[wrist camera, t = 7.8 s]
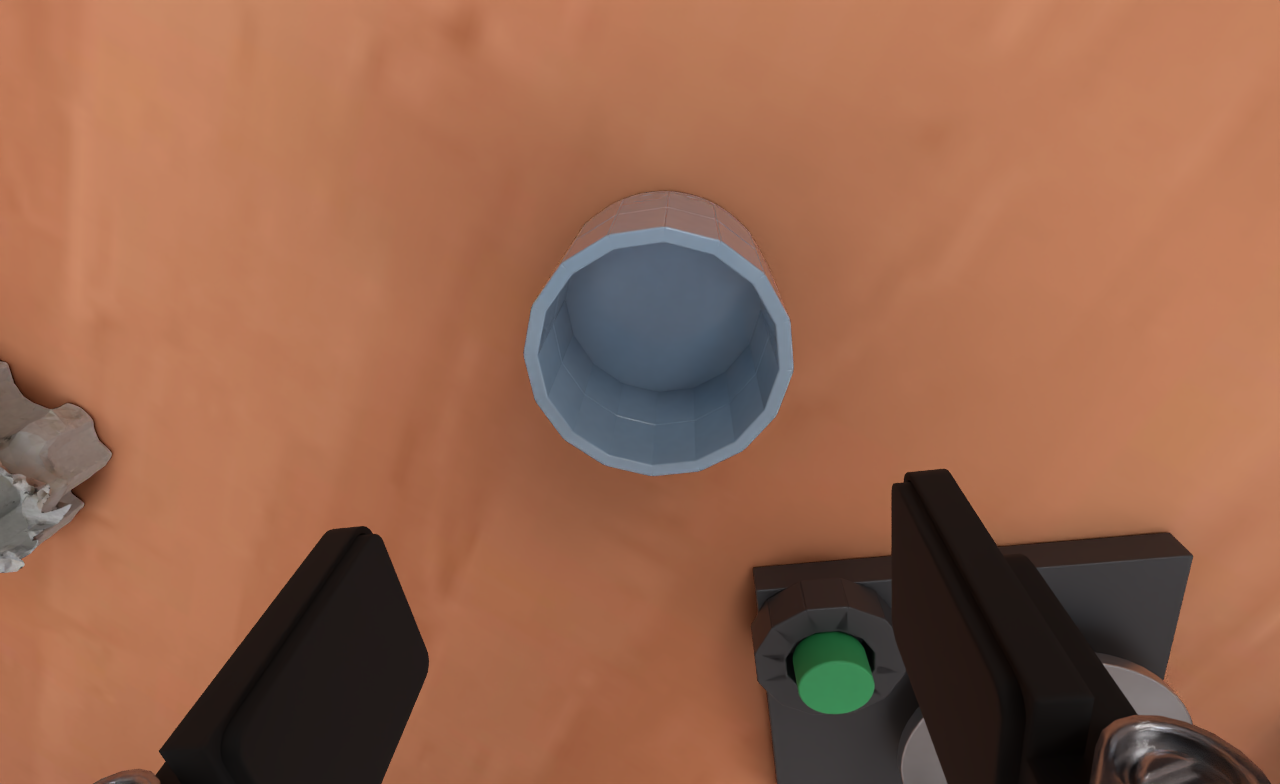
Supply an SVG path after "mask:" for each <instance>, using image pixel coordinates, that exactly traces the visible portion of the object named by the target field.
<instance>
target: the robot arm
mask: <svg viewBox="0 0 1280 784" xmlns="http://www.w3.org/2000/svg"><path fill="white" fill-rule="evenodd" d="M892 626H893V632H894V636H895V640H896V643H897V646H898V649H899V652H900V655H901V657H902V660H903V663H904V666H905V668H906V671H907V674H908V677H909V679H910V682H911V685H912V688H913V690H914V693H915V696H916V699H917V701H918V704H919V707H920V710H921V712H922V715H923V718H924V721H925V723H926V726H927V729H928V732H929V734H930V737H931V740H932V743H933V745H934V748H935V751H936V754H937V756H938V759H939V762H940V765H941V767H942V770H943V773H944V776H945V778H946V781H947V784H1271V783H1270V782H1269V780H1268V779H1267V777H1266V776H1265V774H1264V773H1263V772H1262V771H1261V770H1260V769H1259V768H1258V767H1257V766H1256V765H1255V764H1254V763H1253V762H1252V761H1251V760H1250V759H1248V758H1247V757H1246V756H1245V755H1244V754H1243V753H1242V752H1241V751H1240V750H1238V749H1237V748H1235V747H1234V746H1232V745H1230V744H1229V743H1227V742H1226V741H1224V740H1223V739H1221V738H1220V737H1218V736H1216V735H1215V734H1213V733H1211V732H1208V731H1206V730H1204V729H1202V728H1199V727H1197V726H1195V725H1192V724H1190V723H1188V722H1185V721H1180V720H1176V719H1172V718H1168V717H1164V716H1159V715H1138V714H1137V713H1136V711H1135V710H1134V708H1133V707H1132V705H1131V704H1130V702H1129V701H1128V700H1127V698H1126V697H1125V695H1124V694H1123V692H1122V691H1121V689H1120V688H1119V687H1118V685H1117V684H1116V682H1115V681H1114V679H1113V678H1112V676H1111V675H1110V674H1109V672H1108V671H1107V669H1106V668H1105V666H1104V665H1103V663H1102V662H1101V661H1100V659H1099V658H1098V656H1097V655H1096V653H1095V652H1094V651H1093V649H1092V648H1091V646H1090V645H1089V643H1088V642H1087V640H1086V639H1085V638H1084V636H1083V635H1082V633H1081V632H1080V630H1079V629H1078V627H1077V626H1076V625H1075V623H1074V622H1073V620H1072V619H1071V617H1070V616H1069V614H1068V613H1067V612H1066V610H1065V609H1064V607H1063V606H1062V604H1061V603H1060V601H1059V600H1058V599H1057V597H1056V596H1055V594H1054V593H1053V591H1052V590H1051V588H1050V587H1049V586H1048V584H1047V583H1046V581H1045V580H1044V578H1043V577H1042V575H1041V574H1040V573H1039V571H1038V570H1037V568H1036V567H1035V565H1034V564H1033V563H1032V562H1031V561H1030V559H1029V558H1028V557H1027V556H1025V555H1023V554H1021V553H1019V554H1007V555H1003V554H1002V553H1001V551H1000V550H999V548H998V547H997V545H996V543H995V542H994V540H993V539H992V537H991V536H990V534H989V533H988V531H987V530H986V528H985V526H984V525H983V523H982V522H981V520H980V519H979V517H978V516H977V514H976V512H975V511H974V509H973V508H972V506H971V505H970V503H969V502H968V500H967V498H966V497H965V495H964V494H963V492H962V491H961V489H960V488H959V486H958V484H957V483H956V481H955V480H954V478H953V477H952V475H951V474H950V472H949V471H948V470H946V469H937V470H927V471H917V472H907V473H906V474H905V477H904V483H895V484H893V486H892ZM428 667H429V658H428V652H427V649H426V647H425V644H424V642H423V639H422V637H421V634H420V632H419V629H418V627H417V624H416V622H415V619H414V617H413V614H412V612H411V609H410V607H409V604H408V602H407V599H406V597H405V594H404V592H403V589H402V587H401V584H400V582H399V579H398V577H397V574H396V572H395V569H394V567H393V564H392V562H391V560H390V557H389V555H388V552H387V550H386V547H385V545H384V542H383V540H382V538H381V537H380V536H379V535H377V534H373V533H372V532H371V530H370V529H368V528H367V527H364V526H360V527H350V528H340V529H332V530H329V531H327V532H326V533H325V534H324V535H323V537H322V538H321V539H320V540H319V542H318V543H317V544H316V546H315V547H314V548H313V550H312V551H311V552H310V554H309V555H308V556H307V557H306V559H305V560H304V561H303V563H302V564H301V565H300V567H299V568H298V569H297V571H296V572H295V573H294V575H293V576H292V577H291V578H290V580H289V581H288V582H287V584H286V585H285V586H284V588H283V589H282V590H281V592H280V593H279V594H278V596H277V597H276V598H275V599H274V601H273V602H272V603H271V605H270V606H269V607H268V609H267V610H266V611H265V613H264V614H263V615H262V617H261V618H260V619H259V620H258V622H257V623H256V624H255V626H254V627H253V628H252V630H251V631H250V632H249V634H248V635H247V636H246V638H245V639H244V640H243V641H242V643H241V644H240V645H239V647H238V648H237V649H236V651H235V652H234V653H233V655H232V656H231V657H230V659H229V660H228V661H227V662H226V664H225V665H224V666H223V668H222V669H221V670H220V672H219V673H218V674H217V676H216V677H215V678H214V679H213V681H212V682H211V683H210V685H209V686H208V687H207V689H206V690H205V691H204V693H203V694H202V695H201V697H200V698H199V699H198V700H197V702H196V703H195V704H194V706H193V707H192V708H191V710H190V711H189V712H188V714H187V715H186V716H185V718H184V719H183V720H182V721H181V723H180V724H179V725H178V727H177V728H176V729H175V731H174V732H173V733H172V735H171V736H170V737H169V739H168V740H167V741H166V742H165V744H164V745H163V746H162V748H161V749H160V750H159V752H160V754H161V755H162V757H163V758H164V760H165V761H166V762H165V763H164V765H163V766H162V767H161V769H160V770H159V771H158V773H157V774H156V775H154V774H153V773H152V772H151V771H147V770H142V769H134V770H127V771H121V772H118V773H116V774H113V775H111V776H108V777H105V778H103V779H101V780H99V781H97V782H95V783H94V784H381V783H382V781H383V778H384V776H385V774H386V771H387V769H388V766H389V764H390V762H391V759H392V757H393V754H394V752H395V750H396V747H397V745H398V743H399V740H400V738H401V735H402V733H403V731H404V728H405V726H406V724H407V721H408V719H409V716H410V714H411V712H412V709H413V707H414V705H415V702H416V700H417V697H418V695H419V693H420V690H421V688H422V685H423V683H424V681H425V678H426V676H427V673H428Z"/></svg>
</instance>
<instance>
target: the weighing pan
mask: <svg viewBox="0 0 1280 784" xmlns="http://www.w3.org/2000/svg"><path fill="white" fill-rule="evenodd" d="M1095 653H1096V652H1095ZM1096 655H1097V656H1098V658H1099V659H1100V661H1101V662H1102V663H1103V665H1104V666H1105V668H1106V669H1107V671H1108V672H1109V674H1110V675H1111V676H1112V678H1113V679H1114V681H1115V682H1116V684H1117V685H1118V687H1119V688H1120V689H1121V691H1122V692H1123V694H1124V695H1125V697H1126V698H1127V700H1128V701H1129V702H1130V704H1131V705H1132V707H1133V708H1134V710H1135V711H1136V713H1137V714H1138V715H1159V716H1164V717H1168V718H1172V719H1176V720H1180V721H1185V722H1188V723H1190V724H1192V720H1191V717H1190V715H1189V713H1188V711H1187V709H1186V707H1185V705H1184V704H1183V703H1182V701H1181V700H1180V699H1179V697H1178V696H1177V695H1176V694H1175V693H1174V691H1173V690H1172V689H1171V688H1170V686H1169V685H1168V684H1167V683H1165V682H1164V681H1163V680H1162V679H1161V678H1159V677H1158V676H1157V675H1156V674H1154V673H1152V672H1151V671H1149V670H1147V669H1146V668H1144V667H1142V666H1140V665H1138V664H1135V663H1133V662H1130V661H1128V660H1125V659H1122V658H1118V657H1115V656H1112V655H1107V654H1102V653H1096ZM1192 725H1193V724H1192ZM897 759H898V769H899V772H900V775H901V779H902V782H903V784H947V781H946V778H945V776H944V773H943V770H942V767H941V765H940V762H939V759H938V756H937V754H936V751H935V748H934V745H933V743H932V740H931V737H930V734H929V732H928V729H927V726H926V723H925V721H924V718H923V715H922V712H921V710H920V707H918V708H917V709H916V711H915V712H914V714H913V715H912V716H911V718H910V719H909V720H908V722H907V724H906V726H905V728H904V730H903V732H902V735H901V738H900V741H899V745H898V755H897Z"/></svg>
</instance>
